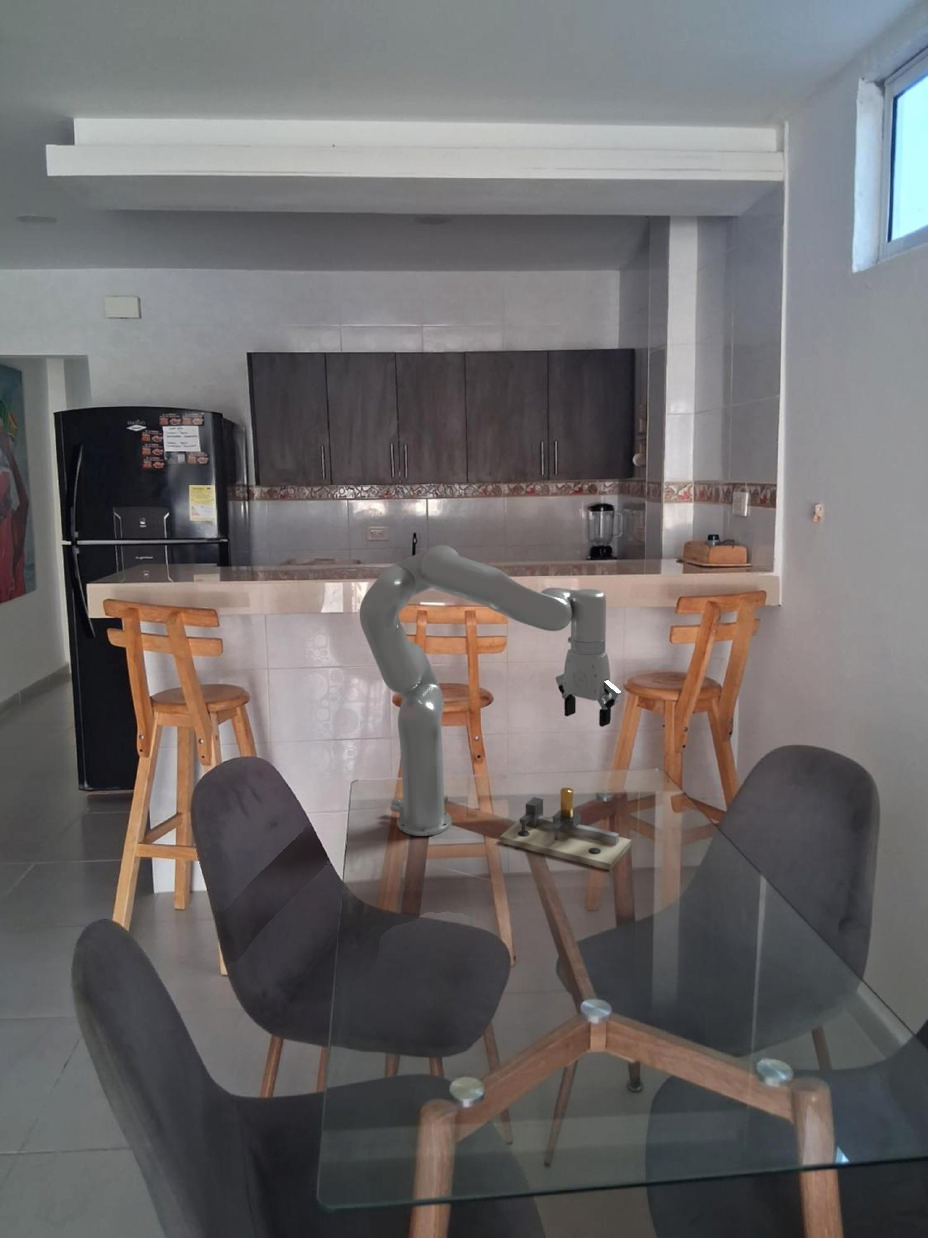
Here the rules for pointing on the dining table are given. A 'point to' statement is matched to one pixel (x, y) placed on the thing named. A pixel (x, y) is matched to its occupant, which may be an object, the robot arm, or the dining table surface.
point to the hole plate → (565, 839)
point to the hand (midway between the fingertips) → (587, 719)
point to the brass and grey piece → (565, 813)
